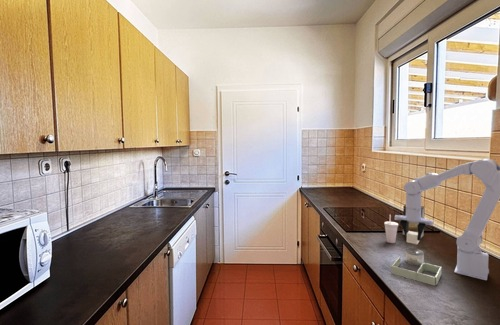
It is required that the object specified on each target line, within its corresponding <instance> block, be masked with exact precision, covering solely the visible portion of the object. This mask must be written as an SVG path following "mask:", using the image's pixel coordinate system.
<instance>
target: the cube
mask: <svg viewBox="0 0 500 325" xmlns="http://www.w3.org/2000/svg"><path fill="white" fill-rule="evenodd" d="M419 242H420V240H418V233H417V232H412V231H409V232H408V233H407V238H406V243H409V244H413V245H418V244H419Z"/></svg>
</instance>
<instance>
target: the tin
mask: <svg viewBox="0 0 500 325" xmlns="http://www.w3.org/2000/svg"><path fill="white" fill-rule="evenodd" d="M424 257H425V253H424V251H423V250H420V249H417V248H406V249H405V263H407V264H408V265H411V266H415V267H420V266H421V265H422V263H425V260H424V259H425V258H424Z"/></svg>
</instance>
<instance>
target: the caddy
mask: <svg viewBox="0 0 500 325" xmlns="http://www.w3.org/2000/svg"><path fill="white" fill-rule="evenodd" d="M400 265H401V256H399V257H398V258H397V259H396V260H395V261H394V262H393V264H392V265H390V266H391V267H390V268H391V272H390V273H391V274H393V275H395V276H400V277H404V278H407V279H409V280H414V281H418V282H421V283H424V284H427V285H431V286H434V287H436V286H437V284H438V283H439V280H440V278H441V276H442V266H439V265H435V264H431V263H426V262H424V263H422V265H421V266H419V268H418V269H417V271H414V270H410V269H406V268H403V267H399V266H400ZM424 270H426V271H430V272H434V273H437V274H436V276H435V277H433V276H429V275H426V274H422V273H423V271H424Z"/></svg>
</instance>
